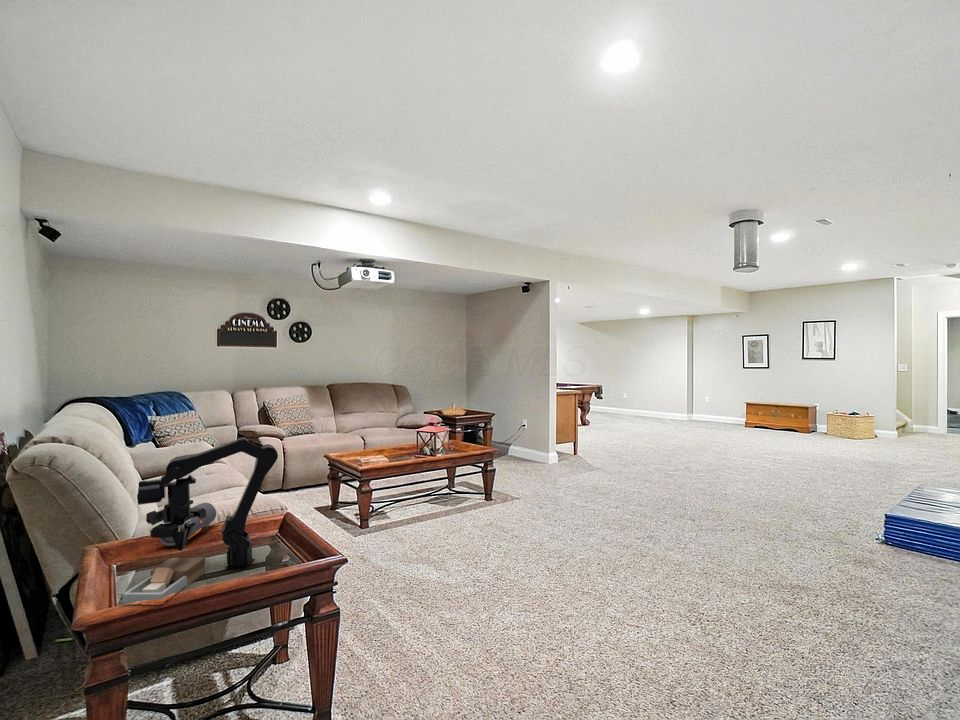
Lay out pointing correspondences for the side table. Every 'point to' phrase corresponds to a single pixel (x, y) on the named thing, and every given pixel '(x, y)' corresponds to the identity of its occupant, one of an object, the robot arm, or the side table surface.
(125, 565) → the side table surface
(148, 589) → the tile front
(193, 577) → the stepped beige slab
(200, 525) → the bluetooth speaker
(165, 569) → the tile rear
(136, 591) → the tray
